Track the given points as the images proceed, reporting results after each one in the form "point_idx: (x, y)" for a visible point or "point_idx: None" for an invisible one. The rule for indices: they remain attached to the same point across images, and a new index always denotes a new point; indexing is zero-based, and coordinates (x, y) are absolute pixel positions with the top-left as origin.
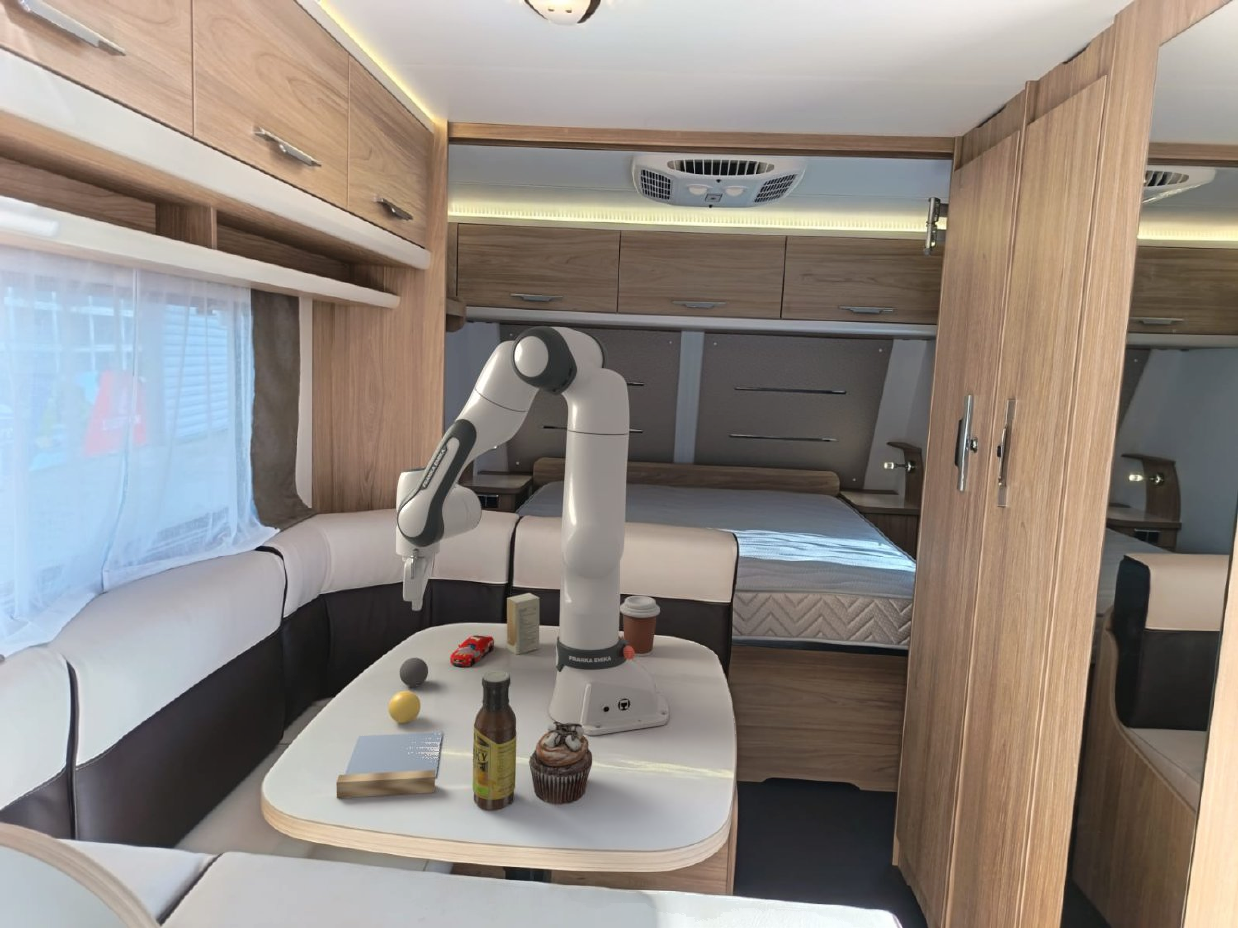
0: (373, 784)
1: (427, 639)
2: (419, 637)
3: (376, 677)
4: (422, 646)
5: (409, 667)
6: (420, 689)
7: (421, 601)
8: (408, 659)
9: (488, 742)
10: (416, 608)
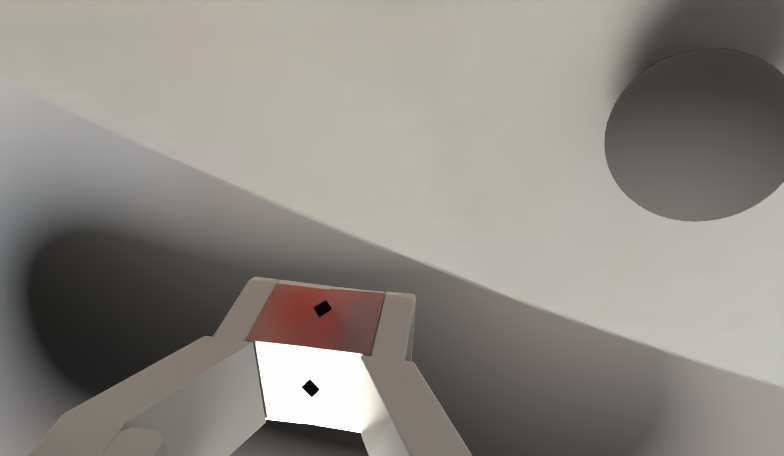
0: None
1: (66, 58)
2: (52, 101)
3: (518, 265)
4: (163, 82)
5: (779, 184)
6: None
7: (342, 343)
8: (700, 201)
9: None
10: (411, 338)
